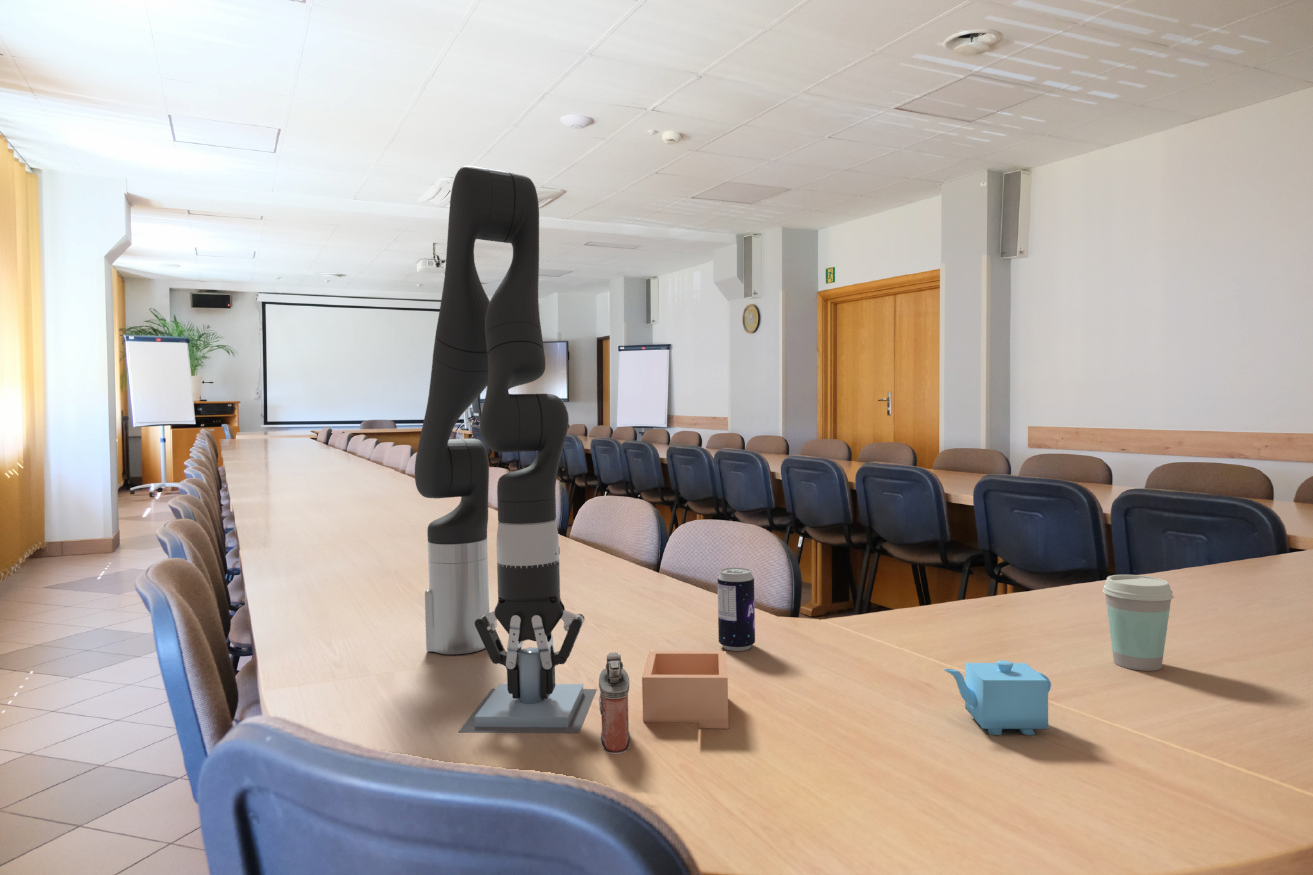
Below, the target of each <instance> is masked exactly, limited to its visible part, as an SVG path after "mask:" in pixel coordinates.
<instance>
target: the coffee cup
mask: <svg viewBox="0 0 1313 875" xmlns="http://www.w3.org/2000/svg"><path fill="white" fill-rule="evenodd" d="M1102 592H1103V593H1104V595H1105V604H1106V610H1107V611H1106V612H1107V620H1108V628H1109V634H1110V643H1111V644H1110V645H1111V651H1112V659H1113V663H1114V664H1115V665H1117V666H1119V667H1122V668H1124V669H1128V670H1133V671H1134V670H1135V671H1142V672H1154V671H1155V672H1156V671H1159V670H1161V669H1162V666H1163V660H1164V653H1165V645H1166V640H1167V634H1168V632H1167V631H1168V624H1169V618H1170V610H1171V603H1172V602H1171V601H1172V599H1174V598H1175V597H1174V595H1173V594H1174V592H1173V590H1172V589H1171V584H1170V583H1169V581H1167V580H1165V579H1162V578H1159V577H1154V576H1146V575H1137V574H1113V575H1108V576H1107V577H1106V580H1105V584H1104V585H1103V589H1102Z"/></svg>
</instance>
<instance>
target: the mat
mask: <svg viewBox="0 0 1313 875" xmlns="http://www.w3.org/2000/svg"><path fill="white" fill-rule="evenodd" d="M495 689H496V688H491V689H490V690H489V691H488V693H487V694H486V696H485V697H484V699H483V700H482V701H481V702H480V703H479V705H478V706H477V707H476V709H475V710H474V711H473V712H472V714H470V716H469V718H468V719H467V720H466V721H465V723H463V725H462V726H461V728H460V729H459V730H458V733H474V734H475V733H480V734H481V733H490V734H491V733H492V734H494V733H495V734H496V733H497V734H498V733H500V734H504V733H505V734H510V733H511V734H580V732H581V729H582V727H583V725H584V722H585V719H586V717H587V714H588V713H589V711H590V710H589V709H590V707H591V705H592V702H593V699H594V697H595V695H596V692H597V688H583V690H584V693H583V696H582V698H581V700H580V702H579V705H578V707H577V709H576V711H575V713H574V716H573V718H572V720H571V722H570V725H569V727H568V728H567V727H475V716H476V714H477V713H478V712H479V710H480V709H481V708H482V706H483V705H484V704H485V702H486V701H487V700H488V699H489V697H490V696H491V695H492V693H493V692H494V691H495Z"/></svg>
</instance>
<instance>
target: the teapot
mask: <svg viewBox="0 0 1313 875" xmlns="http://www.w3.org/2000/svg"><path fill="white" fill-rule="evenodd" d="M943 671H945V672H947V673H948V674H950V675H951V676H953V677H954V679H955V682H956V685H957V688H958V690H959V691H958V692H959V693H960V694H959V695H960V696H961V698H962V699H963V701H964V708H965V710H966V711H967V712H968V713H969V715H970V716H971V717H972V718H973V719H974V720H975V722H977V724H978V725H979V726H980V728H982V729H984V730H985V729H986V730H987V733H989V735H994V736H1001V735H1002V734H1003V730H1019V731H1020V733H1021V734H1023V735H1024V736H1025V735H1026V736H1034V735H1035V734H1036V732H1035V730H1049V692H1050V691H1051V687H1052V682H1051V680H1050V679H1049V677H1048V676H1047V675H1046V674H1044V673H1043V672H1041V671H1040V672H1039V671H1037V670H1035V669H1034V668H1033V667H1031V665H1029V664H1028V663H1027V662H1013V661H1009V660H997V661H996V662H965V663H964V676H963V674H962V673H961V672H960V671H959V670H957V669H954V668H944V669H943Z"/></svg>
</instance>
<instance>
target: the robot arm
mask: <svg viewBox="0 0 1313 875" xmlns="http://www.w3.org/2000/svg"><path fill="white" fill-rule="evenodd" d="M454 176H455V177H454V179H453V182H452V185H451V186H452V187H451V192H450V202H449V211H448V226H447V241H446V242H447V243H446V245H447V246H446V258H445V268H444V269H445V270H444V278H443V279H444V281H443V287H442V293H441V300H440V305H439V313H438V318H437V323H436V330H435V336H434V346H433V353H432V362H431V363H432V364H431V370H430V371H431V373H430V381H429V390H428V398H427V404H426V410H425V415H424V418H423V423H422V428H421V431H420V436H419V440H418V445H417V449H416V454H415V463H414V480H415V481H414V482H415V487H416V489H417V492H418V493H419V495H421V496H422V497H424V498H427V499H448V498H458V497H461V498H460V502H459V504H458V505H457V506H456V507H455V508H454V509H453V510H451V511H450V512H448V513H447V514H445V515H443V516H440V517H439V518H437V519H434V520H433V521H432V522H430V523H429V524H428V526H427V530H426V531H427V555H428V556H427V558H428V589H426V590H425V591H424V610H425V612H424V613H425V614H424V615H425V618H424V619H425V642H426V643H425V644H426V645H425V646H426V652H434V653H437V654H441V655H464V654H471V653H475V652H479V651H482V650H484V649H485V650H486V652H487V655H488V657H489V658H490V661H491V662H492V664H494V665H498V664H499V665H501V666H504V667H505V668H506V681H507V682H506V684H507V690H508V692H509V694H512V697H513V699H519V664H518V651H519V650H521V649H523V644H524V641H533V642H536V646H537V647H536V648H538V651H539V652H540V656H541V661H542V666H543V668H542V669H541V698H542V699H548V697H549V696H550V694H552V692H553V691H554V688H555V684H556V666H558V665H564V664H566V662H567V660H568V658H569V657H570V656H571V653H572V650H573V648H574V645H575V643H576V641H577V639H578V636H579V633H580V631H581V628H582V626H583V624H584V621H585V616H584V615H583V614H582V613H578V614H575V613H572V612H570V611H568V610H566V609H565V605H564V604H563V602H562V598H561V578H560V577H561V575H560V570H561V569H560V555H561V548H560V543H559V542H560V540H559V539H560V538H559V531H558V525H557V506H556V505H557V503H556V501H557V500H556V499H557V498H556V486H557V479H558V478H557V477H558V471H559V466H560V462H561V457H562V452H563V450H564V446H565V442H566V439H567V435H568V429H569V421H570V420H569V419H570V418H569V412H568V409H567V406H566V405H565V403H564V401H563V400H562V399H561V398H560V397H559V396H557V395H555V394H554V393H509V391H510V389H512V388H516V387H518V386H522V385H525V384H529V383H532V382H535V381H537V380H538V379H540V378H542V376H543V375H544V374H545V371H546V355H545V348H544V341H543V334H542V326H541V318H540V308H539V277H540V275H539V274H540V273H539V272H540V207H539V198H538V192H537V188H536V186H535V183H534V182H533V181H532V179H531V178H530V177H529V176H526V175H523V174H519V173H515V172H510V171H504V170H498V169H493V168H487V167H481V166H472V165H464V166H462V167H460V168H459V169H458V170H457V172H456V174H455V175H454ZM476 240H481V241H488V242H489V241H490V242H496V243H497V242H498V243H504V244H505V243H506V244H511V246H512V259H511V264H510V266H509V267H508V269H507V271H506V274H505V275H504V277H503V279H502V280H501V282H500V284H499V285H498V287H497V289H496V290H495V292H494V293H493V295H492V297H491V298H490V299H489V297H488V295H487V293H486V291H485V289H484V287H483V285H482V282H481V279H480V276H479V274H478V270H477V267H476V263H475V244H476ZM485 389H486V392H485V396H484V397H485V398H484V402H483V406H482V410H481V416H480V422H479V432H480V436H481V439H482V440H480V439H477V438H451V436H452V435H451V434H452V432H453V430H454V429H455V426H456V424H457V423H458V420H459V419H460V418H461V416H462V415H463V414H464V413H465V411H466V410H467V409H468V408H469V407H470V406H471V405H472V404H473V403H474V402H475V400H477V398H479V396H480V395H481V394H482V393H483V391H485ZM485 445H486V446H487V447H488V448H489V449H490V450H491V451H493V452H496V453H519V452H521V453H523V452H525V453H526V452H536V456H535V458H534V460H533V461H532V463H530V465H528V466H527V467H525V468H521V469H517V470H515V471H510V472H507V473H505V474H503V475H501V476H500V477H499V478H498V481H497V486H496V488H497V490H496V496H497V498H496V500H497V521H498V522H497V532H496V567H497V604H496V606H495V607H494V610H493V611H491V612H490V591H489V590H490V588H489V587H490V586H489V584H490V583H489V556H488V555H489V554H488V553H489V552H488V525H489V524H488V523H489V522H488V521H489V490H490V489H489V485H490V482H489V481H490V467H489V466H490V462H489V454H488V450H487V448H486V446H485ZM497 620H498V622H497ZM560 620H562V621H563V630H564V631H565V632H566V635H565V637H564V638H563V639H564V640H563V642H562V645H561V647H560V649H559V650H557V651H555V646H554V636H553V631H554V630H555V628H556V627H557V625H558V624H559V622H560ZM498 623H500V624H501V626H502V627H503V629H504V631H506V633H507V634H508V640H507V647H506V649H505V647H504V645H503V642H502V641H501V639H500V636H499V634H498V632H497V630H496V629H497V627H498Z"/></svg>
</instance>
